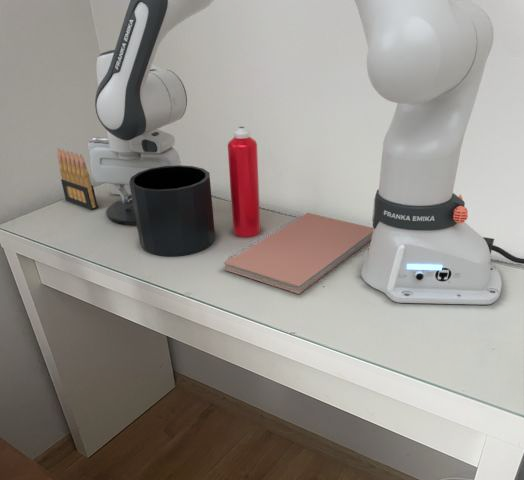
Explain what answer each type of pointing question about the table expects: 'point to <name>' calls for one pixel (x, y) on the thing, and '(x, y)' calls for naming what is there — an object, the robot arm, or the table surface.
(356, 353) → the table surface
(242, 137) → the bottle
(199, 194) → the trash bin
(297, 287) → the notebook
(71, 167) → the ammunition clip
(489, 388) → the table surface
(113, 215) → the bin lid
